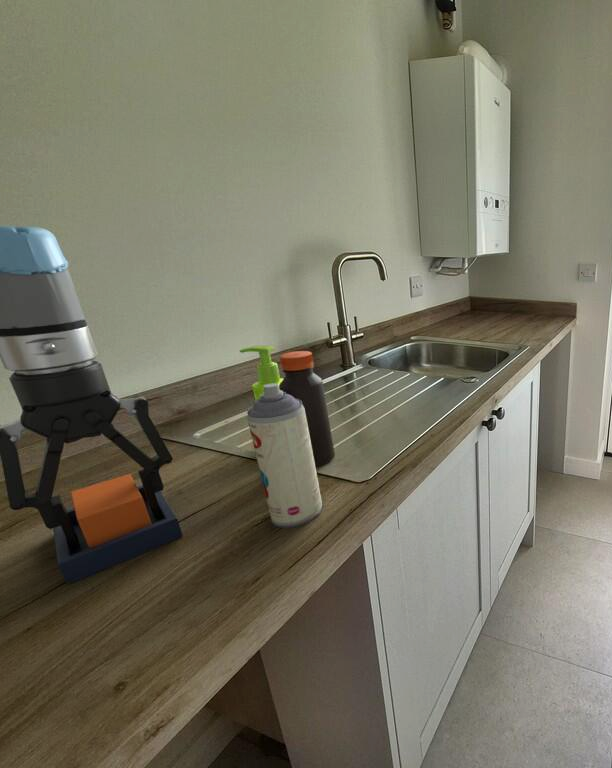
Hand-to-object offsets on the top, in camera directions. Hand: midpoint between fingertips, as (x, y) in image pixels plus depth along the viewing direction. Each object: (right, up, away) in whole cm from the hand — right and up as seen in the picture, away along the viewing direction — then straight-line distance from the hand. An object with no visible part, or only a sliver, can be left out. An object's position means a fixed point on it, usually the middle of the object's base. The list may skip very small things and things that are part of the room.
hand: (117, 527), depth 55 cm
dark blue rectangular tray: (0, -1, +1) cm, 1 cm away
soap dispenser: (+8, +7, +25) cm, 27 cm away
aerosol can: (+22, 0, +5) cm, 22 cm away
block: (0, 0, 0) cm, 0 cm away
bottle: (+17, +5, +20) cm, 27 cm away
